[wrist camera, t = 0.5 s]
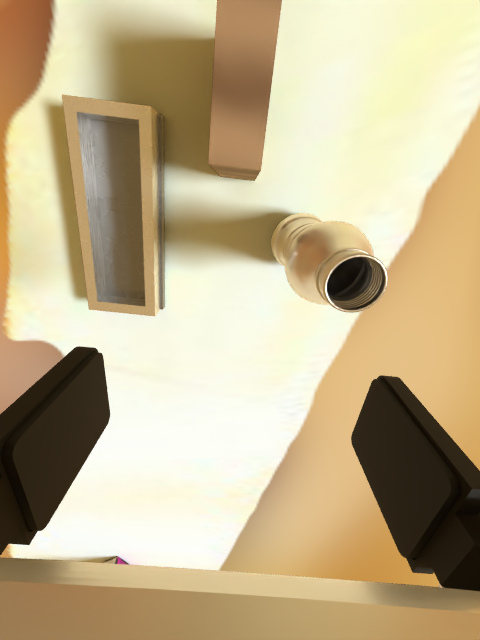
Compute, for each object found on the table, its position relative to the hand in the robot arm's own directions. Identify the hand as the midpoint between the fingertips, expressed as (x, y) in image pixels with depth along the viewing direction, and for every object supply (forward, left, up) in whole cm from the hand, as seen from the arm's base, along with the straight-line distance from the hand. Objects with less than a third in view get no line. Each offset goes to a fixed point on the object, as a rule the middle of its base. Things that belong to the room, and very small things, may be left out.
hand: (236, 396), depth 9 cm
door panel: (-14, -1, -28) cm, 31 cm away
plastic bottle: (-2, +7, -28) cm, 29 cm away
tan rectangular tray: (-2, -14, -28) cm, 31 cm away
